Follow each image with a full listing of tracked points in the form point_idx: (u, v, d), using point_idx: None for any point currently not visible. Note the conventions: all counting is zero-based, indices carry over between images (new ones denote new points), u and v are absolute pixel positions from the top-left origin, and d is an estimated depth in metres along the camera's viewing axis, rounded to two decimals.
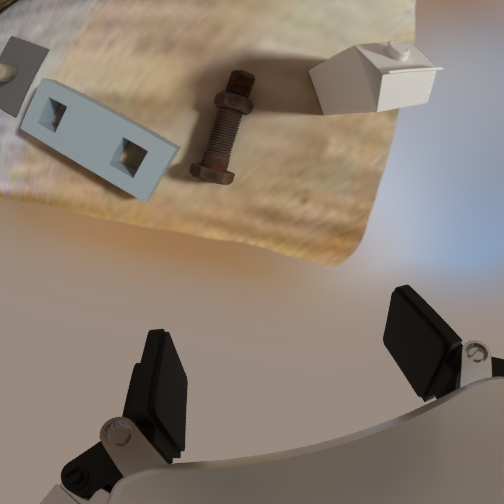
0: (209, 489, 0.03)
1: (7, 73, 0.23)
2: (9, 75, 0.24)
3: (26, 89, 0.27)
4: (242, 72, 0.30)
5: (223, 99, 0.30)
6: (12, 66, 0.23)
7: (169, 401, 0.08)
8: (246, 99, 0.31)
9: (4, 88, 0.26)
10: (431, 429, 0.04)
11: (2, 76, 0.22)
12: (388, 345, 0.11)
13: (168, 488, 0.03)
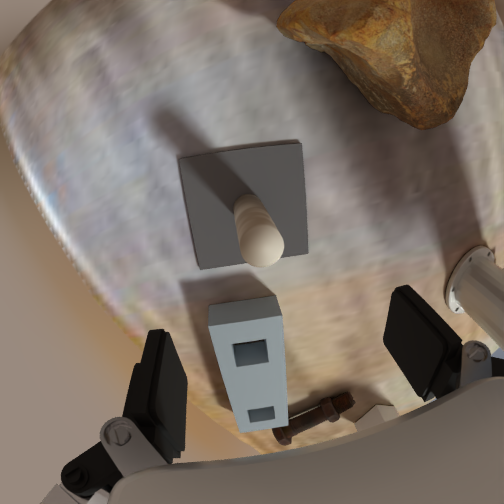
0: (209, 489, 0.03)
1: None
2: None
3: (243, 261, 0.31)
4: (353, 402, 0.41)
5: (330, 415, 0.40)
6: None
7: (169, 401, 0.08)
8: None
9: (220, 211, 0.28)
10: (431, 430, 0.04)
11: None
12: (388, 345, 0.11)
13: (168, 488, 0.03)
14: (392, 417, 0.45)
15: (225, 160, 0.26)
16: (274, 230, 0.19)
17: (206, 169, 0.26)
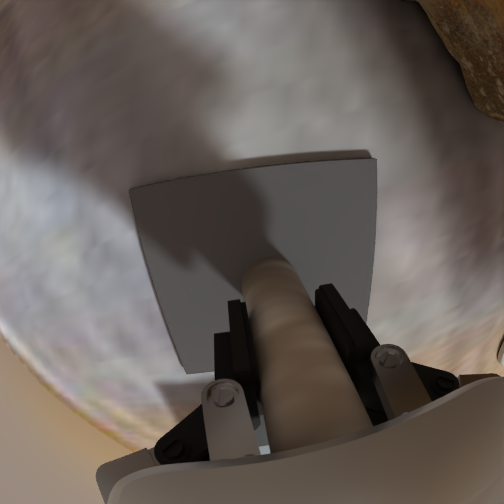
0: (209, 489, 0.03)
1: None
2: None
3: None
4: None
5: None
6: None
7: None
8: None
9: (217, 290, 0.15)
10: (431, 429, 0.04)
11: None
12: None
13: (169, 488, 0.03)
14: None
15: (225, 191, 0.13)
16: None
17: (185, 210, 0.13)
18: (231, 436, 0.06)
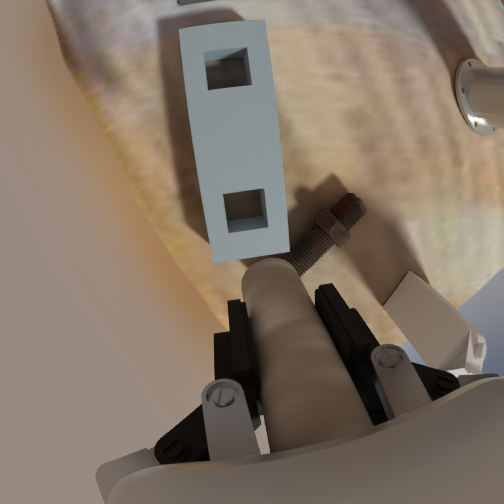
0: (209, 489, 0.03)
1: None
2: None
3: None
4: (361, 203, 0.29)
5: (330, 225, 0.29)
6: None
7: None
8: (349, 236, 0.30)
9: None
10: (431, 429, 0.04)
11: None
12: None
13: (169, 488, 0.03)
14: (433, 289, 0.35)
15: None
16: None
17: None
18: (231, 436, 0.06)
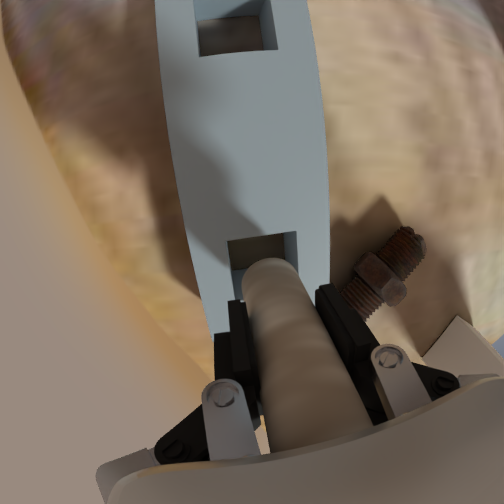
0: (209, 489, 0.03)
1: None
2: None
3: None
4: (422, 243, 0.18)
5: (382, 282, 0.18)
6: None
7: None
8: (405, 292, 0.19)
9: None
10: (431, 430, 0.04)
11: None
12: None
13: (168, 488, 0.03)
14: (481, 337, 0.25)
15: None
16: None
17: None
18: (231, 436, 0.06)
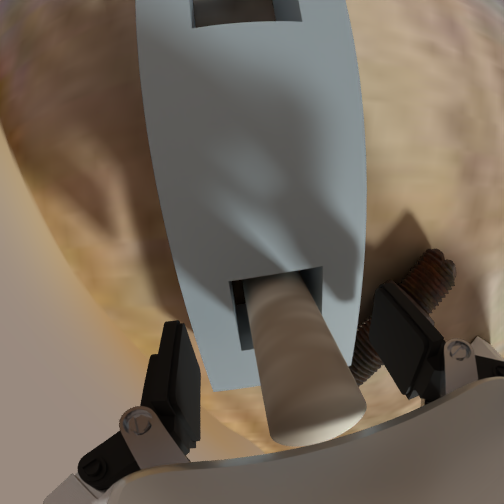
0: (209, 489, 0.03)
1: None
2: None
3: None
4: (453, 269, 0.14)
5: None
6: None
7: (186, 390, 0.08)
8: None
9: None
10: (431, 429, 0.04)
11: None
12: (373, 342, 0.11)
13: (169, 487, 0.03)
14: (501, 358, 0.21)
15: None
16: (353, 396, 0.07)
17: None
18: (161, 459, 0.05)
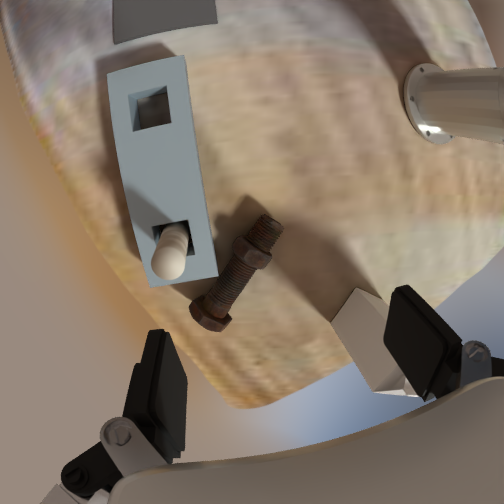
0: (209, 489, 0.03)
1: None
2: None
3: (154, 31, 0.23)
4: (273, 224, 0.31)
5: (244, 253, 0.31)
6: None
7: (169, 401, 0.08)
8: (268, 258, 0.32)
9: None
10: (431, 429, 0.04)
11: None
12: (388, 345, 0.11)
13: (169, 488, 0.03)
14: (382, 306, 0.38)
15: None
16: (175, 251, 0.23)
17: None
18: (144, 468, 0.05)
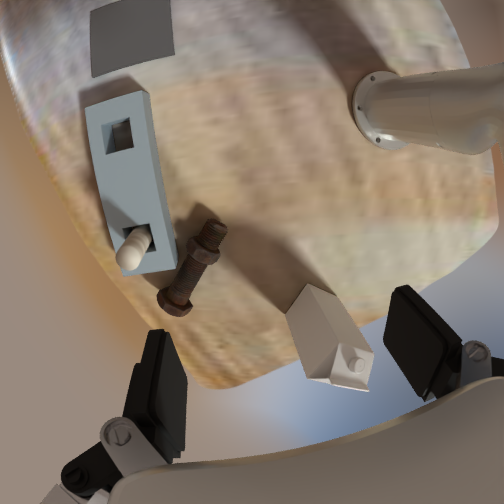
0: (209, 489, 0.03)
1: None
2: None
3: (123, 66, 0.29)
4: (216, 227, 0.37)
5: (193, 251, 0.37)
6: None
7: (169, 401, 0.08)
8: (213, 255, 0.38)
9: (110, 34, 0.26)
10: (431, 429, 0.04)
11: None
12: (388, 345, 0.11)
13: (169, 488, 0.03)
14: (331, 302, 0.44)
15: (118, 5, 0.24)
16: (132, 249, 0.30)
17: (105, 13, 0.24)
18: (144, 468, 0.05)
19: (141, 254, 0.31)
